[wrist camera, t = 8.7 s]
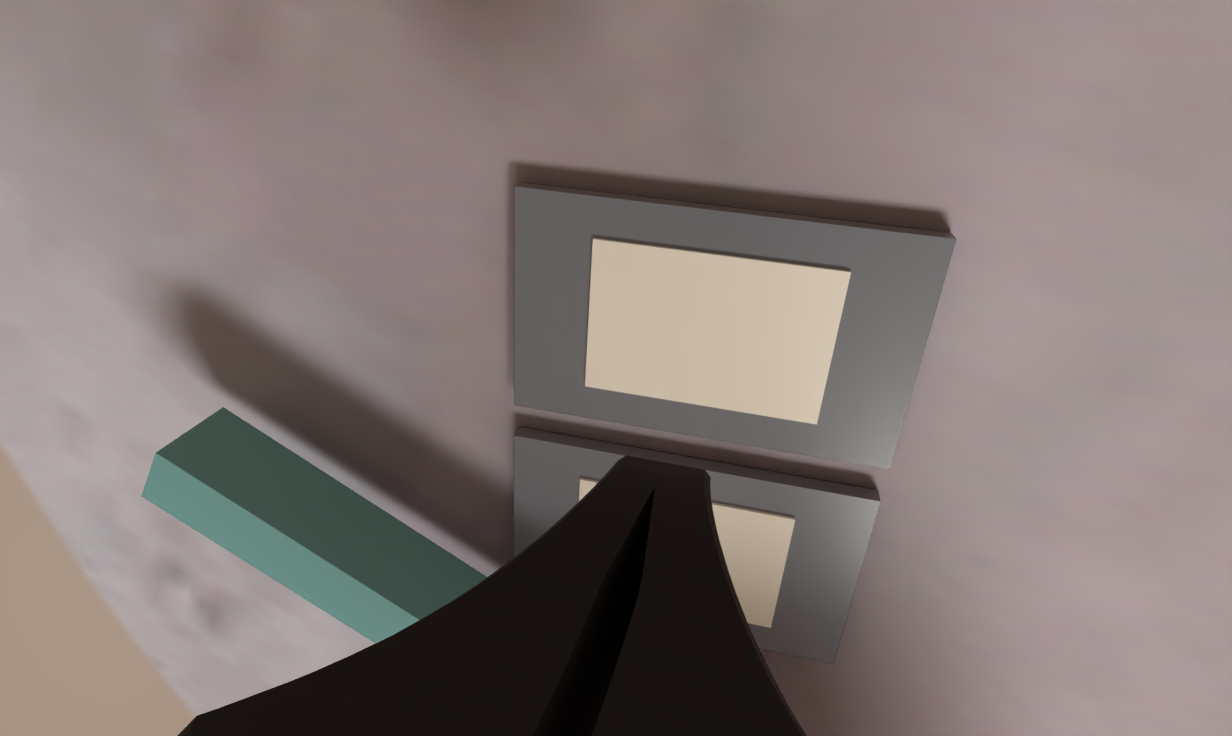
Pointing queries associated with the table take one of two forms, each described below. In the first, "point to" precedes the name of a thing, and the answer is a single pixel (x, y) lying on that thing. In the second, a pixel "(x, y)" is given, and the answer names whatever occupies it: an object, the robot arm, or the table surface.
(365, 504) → the bar
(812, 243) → the label tile
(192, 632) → the table surface
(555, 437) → the label tile
